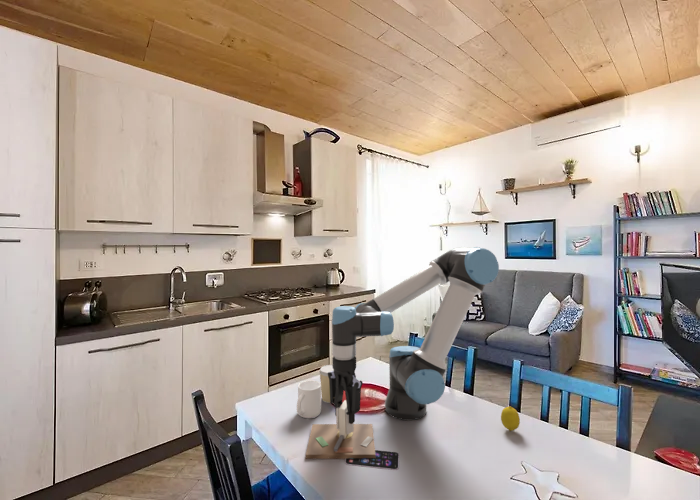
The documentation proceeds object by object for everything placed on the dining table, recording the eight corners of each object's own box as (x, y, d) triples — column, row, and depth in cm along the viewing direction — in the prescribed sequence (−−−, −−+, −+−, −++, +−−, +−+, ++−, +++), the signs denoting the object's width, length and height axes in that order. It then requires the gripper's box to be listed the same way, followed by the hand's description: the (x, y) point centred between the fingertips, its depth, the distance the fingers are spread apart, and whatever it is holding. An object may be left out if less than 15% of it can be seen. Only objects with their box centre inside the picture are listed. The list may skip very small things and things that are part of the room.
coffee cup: (329, 391, 138) (329, 362, 138) (347, 397, 133) (347, 367, 132) (314, 399, 130) (314, 369, 130) (333, 406, 125) (333, 375, 125)
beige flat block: (351, 428, 107) (350, 400, 107) (339, 452, 94) (339, 421, 94) (343, 427, 108) (343, 399, 107) (331, 451, 95) (331, 420, 95)
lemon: (519, 428, 109) (519, 404, 109) (520, 437, 104) (520, 412, 104) (500, 424, 112) (500, 401, 111) (500, 433, 107) (500, 408, 106)
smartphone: (349, 447, 100) (399, 452, 97) (349, 449, 100) (399, 454, 97) (344, 463, 92) (398, 469, 89) (344, 465, 92) (398, 471, 90)
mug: (307, 426, 111) (307, 396, 111) (287, 420, 115) (287, 391, 115) (325, 410, 122) (325, 382, 122) (306, 405, 126) (306, 378, 126)
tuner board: (372, 427, 110) (372, 423, 110) (375, 458, 94) (375, 453, 94) (312, 427, 111) (312, 423, 111) (305, 458, 95) (305, 453, 95)
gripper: (372, 359, 101) (372, 435, 101) (334, 347, 112) (335, 415, 113) (355, 366, 96) (356, 446, 96) (318, 353, 107) (318, 424, 107)
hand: (344, 429), depth 104 cm, fingers closed on beige flat block, 3 cm apart
